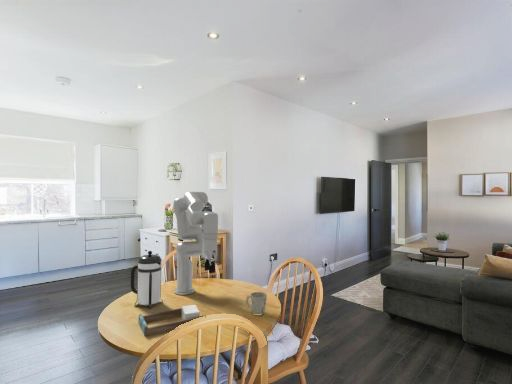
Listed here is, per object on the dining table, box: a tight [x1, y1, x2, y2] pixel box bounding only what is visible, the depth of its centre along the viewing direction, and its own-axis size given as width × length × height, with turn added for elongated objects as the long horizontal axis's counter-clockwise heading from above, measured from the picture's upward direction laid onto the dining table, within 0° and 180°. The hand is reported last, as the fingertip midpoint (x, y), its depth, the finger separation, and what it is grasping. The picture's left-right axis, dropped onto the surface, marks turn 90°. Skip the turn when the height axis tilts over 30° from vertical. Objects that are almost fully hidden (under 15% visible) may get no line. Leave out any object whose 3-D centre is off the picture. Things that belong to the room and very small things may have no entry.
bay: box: [138, 307, 206, 337], centre depth 138 cm, size 15×28×4 cm, turn 122°
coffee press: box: [130, 250, 163, 310], centre depth 161 cm, size 17×16×30 cm
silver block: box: [180, 304, 201, 320], centre depth 143 cm, size 10×7×5 cm
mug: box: [245, 291, 268, 314], centre depth 151 cm, size 8×13×10 cm, turn 58°
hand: (209, 271), depth 148 cm, fingers open, 5 cm apart
